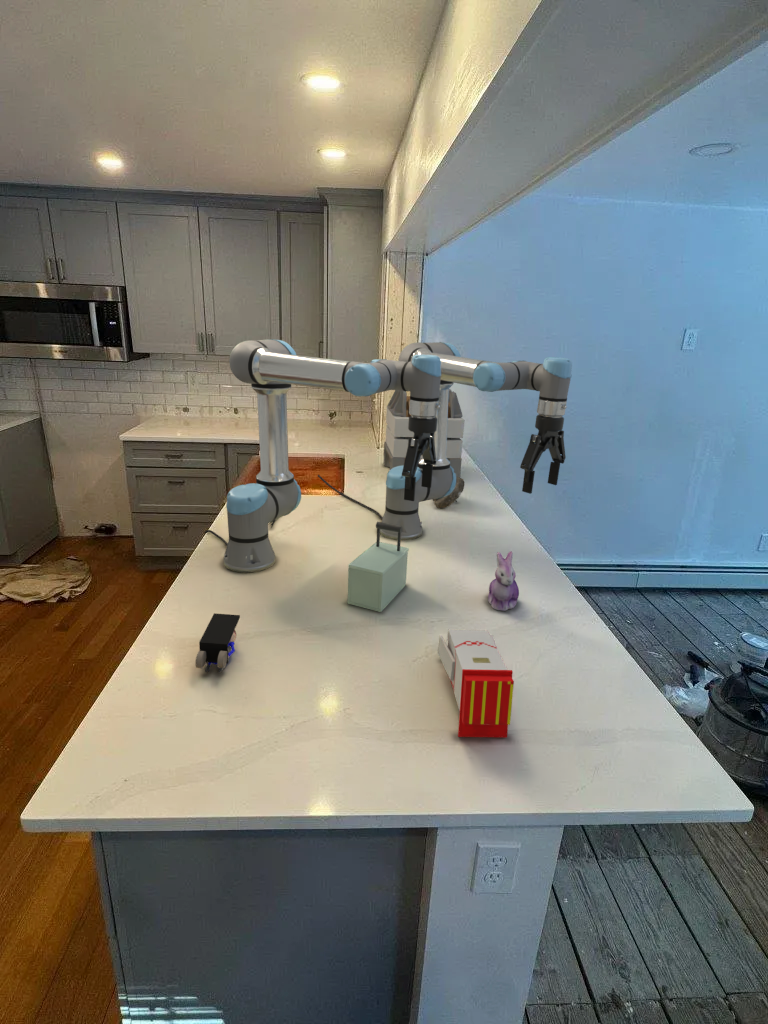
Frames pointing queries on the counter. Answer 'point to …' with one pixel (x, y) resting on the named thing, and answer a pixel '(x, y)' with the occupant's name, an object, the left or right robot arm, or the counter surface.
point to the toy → (478, 682)
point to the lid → (380, 553)
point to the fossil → (450, 495)
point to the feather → (272, 523)
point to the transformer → (400, 433)
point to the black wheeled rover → (217, 641)
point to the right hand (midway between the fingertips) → (539, 488)
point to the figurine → (503, 584)
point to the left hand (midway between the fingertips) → (418, 493)
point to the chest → (376, 586)
